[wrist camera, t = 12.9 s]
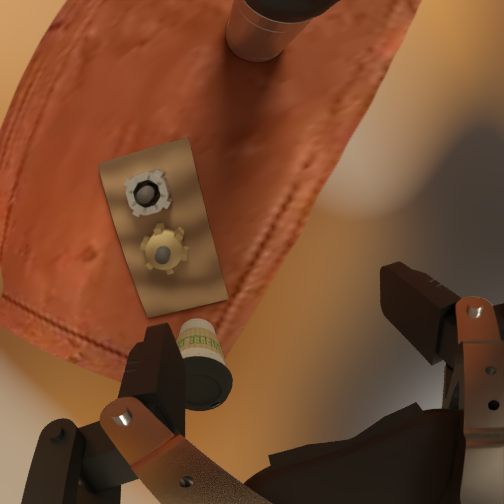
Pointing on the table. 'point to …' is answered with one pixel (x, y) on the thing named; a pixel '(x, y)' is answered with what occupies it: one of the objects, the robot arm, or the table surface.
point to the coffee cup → (203, 366)
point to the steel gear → (149, 208)
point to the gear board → (178, 213)
